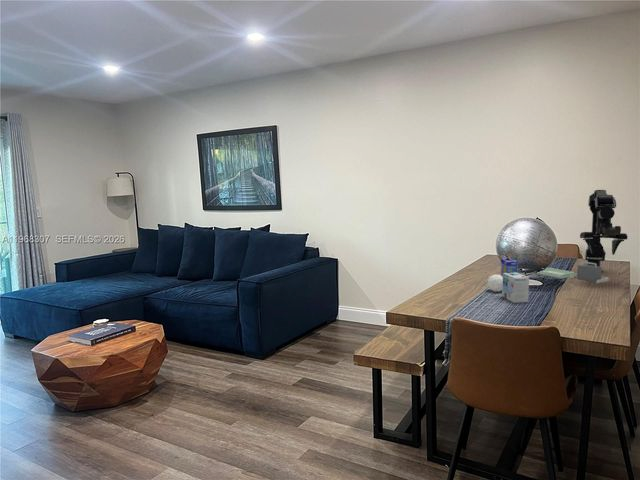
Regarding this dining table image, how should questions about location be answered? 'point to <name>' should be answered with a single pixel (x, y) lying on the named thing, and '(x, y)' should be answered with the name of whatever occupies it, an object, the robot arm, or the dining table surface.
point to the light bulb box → (515, 287)
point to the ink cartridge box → (508, 265)
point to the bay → (603, 279)
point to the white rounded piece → (495, 283)
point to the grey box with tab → (589, 272)
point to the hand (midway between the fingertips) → (602, 254)
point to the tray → (555, 273)
